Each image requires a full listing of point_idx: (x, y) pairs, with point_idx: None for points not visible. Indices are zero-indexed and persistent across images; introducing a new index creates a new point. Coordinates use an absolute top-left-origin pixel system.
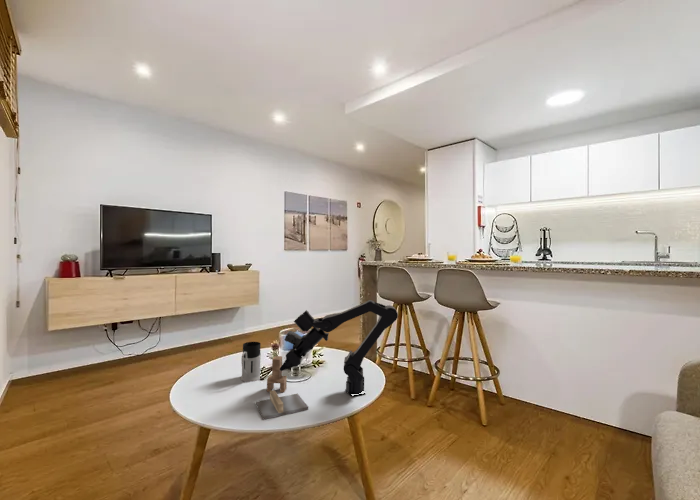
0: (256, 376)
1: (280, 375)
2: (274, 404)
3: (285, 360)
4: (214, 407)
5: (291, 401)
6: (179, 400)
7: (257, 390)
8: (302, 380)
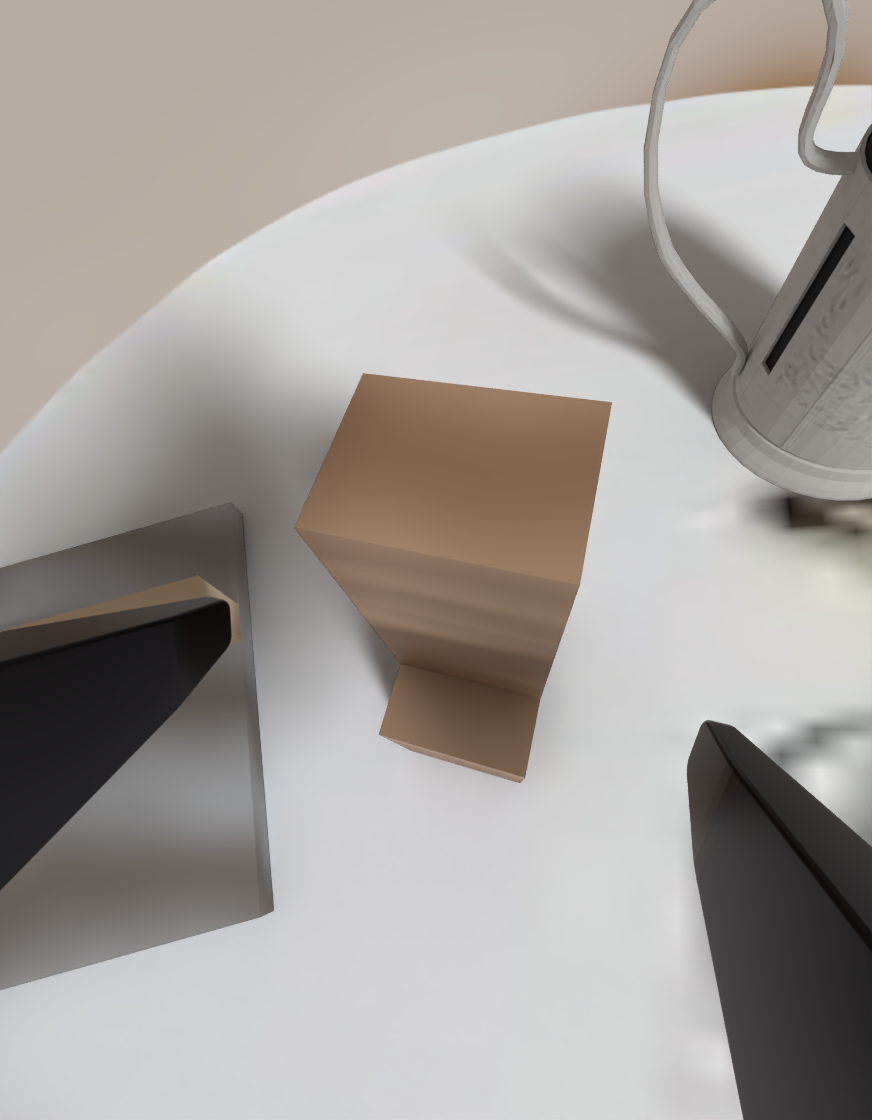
0: (778, 442)
1: (452, 669)
2: None
3: (715, 729)
4: (291, 309)
5: (96, 818)
6: (430, 164)
7: None
8: None
